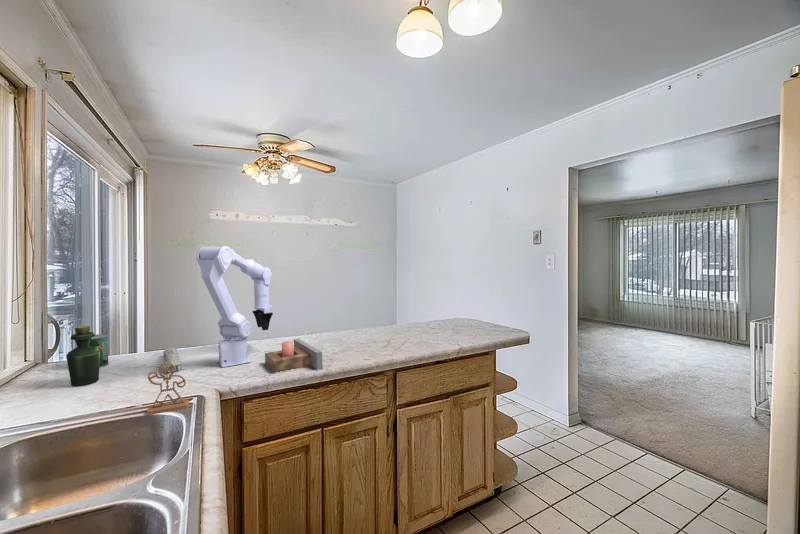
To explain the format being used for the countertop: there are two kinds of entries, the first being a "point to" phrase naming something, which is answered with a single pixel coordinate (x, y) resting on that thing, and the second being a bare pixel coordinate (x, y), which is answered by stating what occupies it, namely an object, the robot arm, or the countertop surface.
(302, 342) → the wall
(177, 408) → the gingerbread man figurine
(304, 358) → the block
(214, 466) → the countertop surface
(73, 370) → the potion bottle
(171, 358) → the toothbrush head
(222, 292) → the robot arm
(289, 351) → the dowel
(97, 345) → the canned tomato
